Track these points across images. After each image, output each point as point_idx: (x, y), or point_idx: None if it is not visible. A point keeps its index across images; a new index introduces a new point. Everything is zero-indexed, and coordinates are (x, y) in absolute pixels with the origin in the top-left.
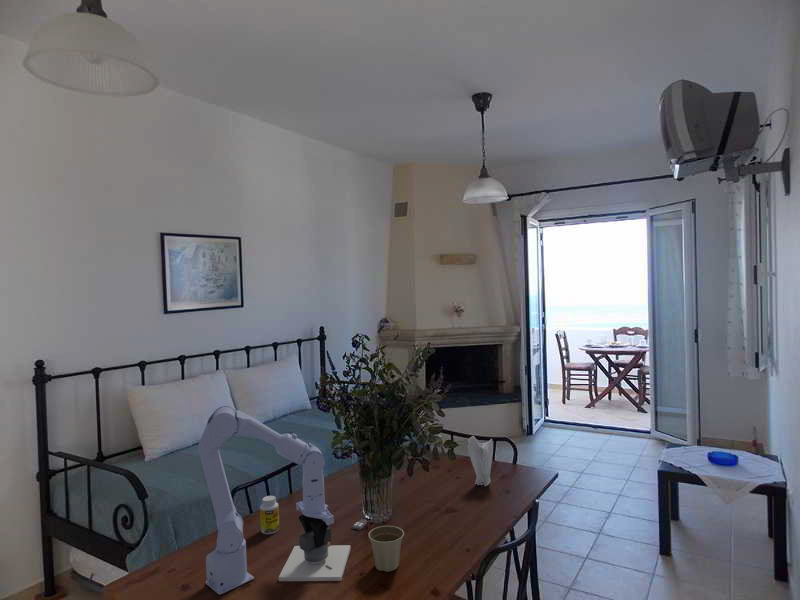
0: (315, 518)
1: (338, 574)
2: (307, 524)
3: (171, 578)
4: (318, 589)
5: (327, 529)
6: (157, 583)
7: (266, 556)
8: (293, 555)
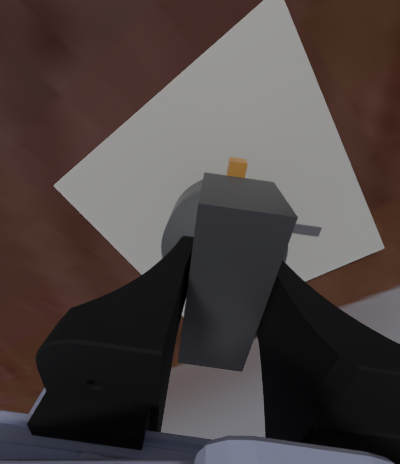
0: (171, 334)
1: (366, 242)
2: (170, 368)
3: (10, 388)
4: (325, 298)
5: (286, 245)
6: (14, 401)
7: (44, 261)
8: (119, 236)
